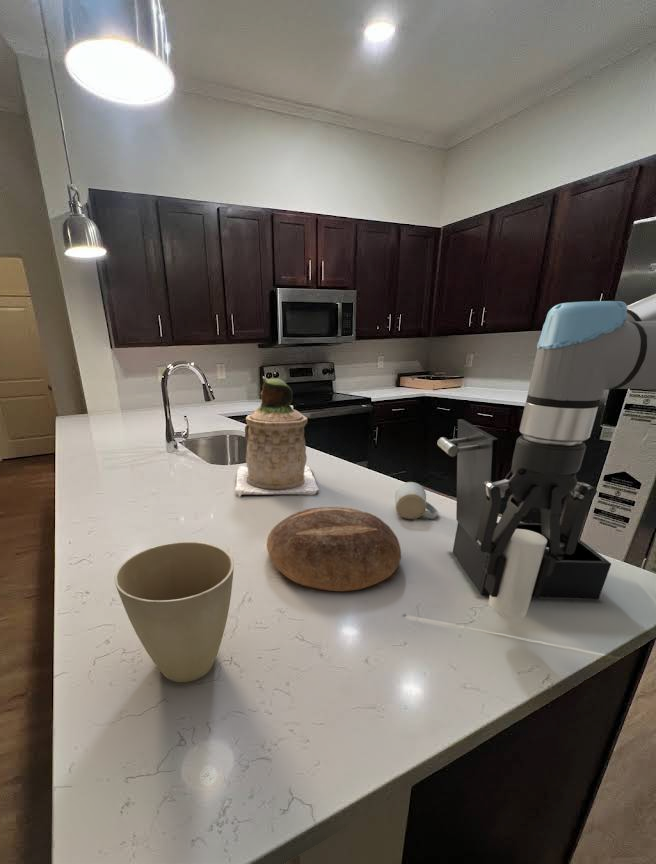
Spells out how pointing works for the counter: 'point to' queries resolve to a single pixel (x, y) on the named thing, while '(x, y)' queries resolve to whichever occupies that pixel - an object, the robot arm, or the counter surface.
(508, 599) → the canister
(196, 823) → the counter surface
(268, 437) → the cookie jar
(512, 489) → the robot arm
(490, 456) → the bin lid
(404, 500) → the ceramic mug
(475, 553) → the bin
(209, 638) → the plant pot
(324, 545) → the bread
